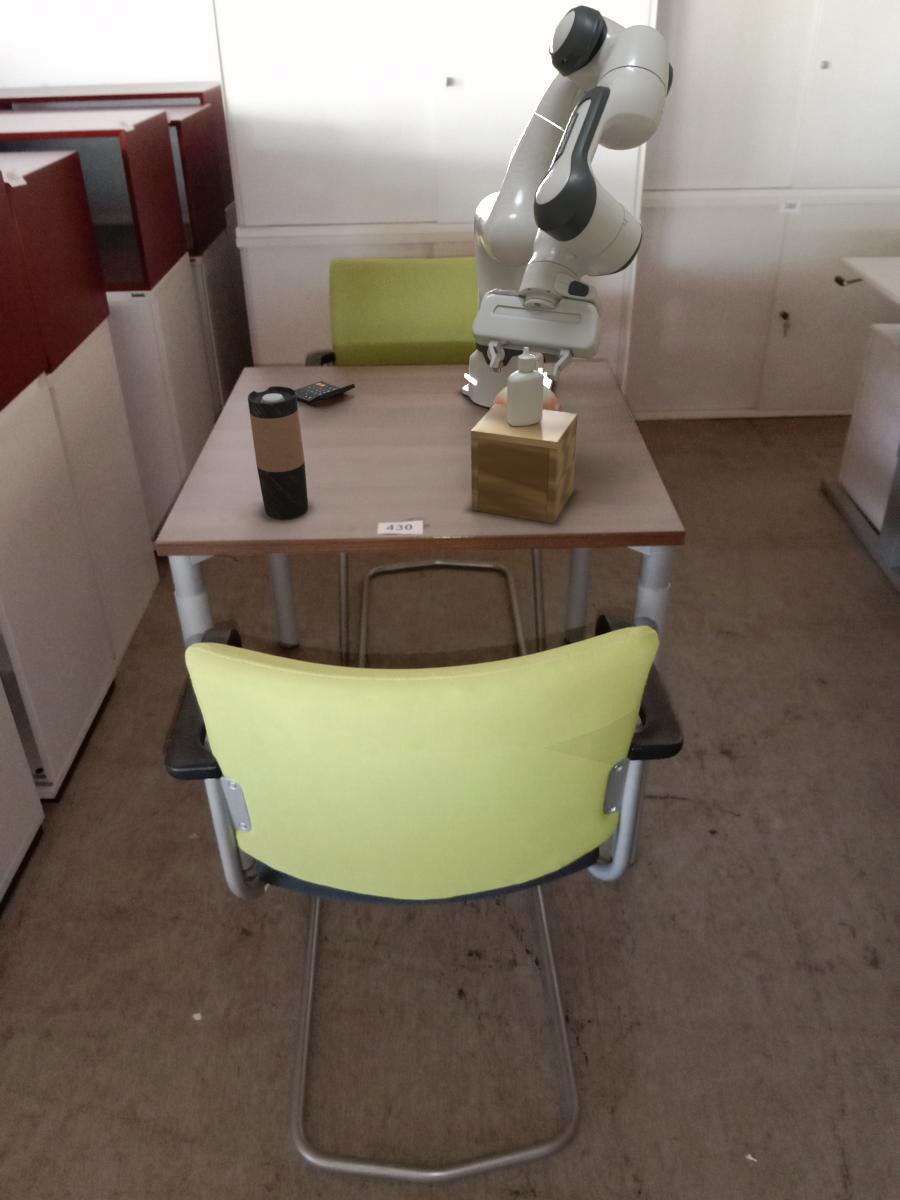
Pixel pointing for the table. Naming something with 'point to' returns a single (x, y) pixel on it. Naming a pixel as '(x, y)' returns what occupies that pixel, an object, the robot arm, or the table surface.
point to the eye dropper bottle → (525, 393)
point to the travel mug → (279, 452)
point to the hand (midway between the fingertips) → (522, 374)
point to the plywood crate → (523, 465)
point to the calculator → (319, 392)
